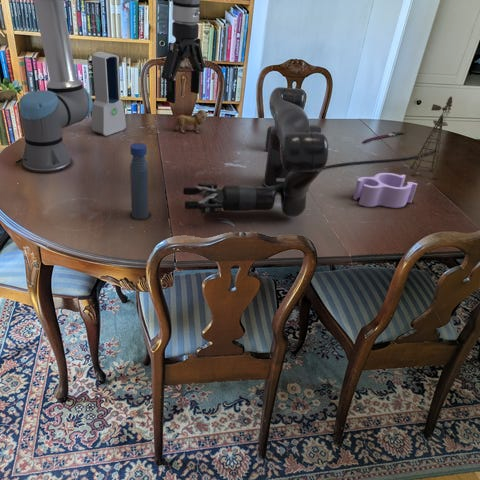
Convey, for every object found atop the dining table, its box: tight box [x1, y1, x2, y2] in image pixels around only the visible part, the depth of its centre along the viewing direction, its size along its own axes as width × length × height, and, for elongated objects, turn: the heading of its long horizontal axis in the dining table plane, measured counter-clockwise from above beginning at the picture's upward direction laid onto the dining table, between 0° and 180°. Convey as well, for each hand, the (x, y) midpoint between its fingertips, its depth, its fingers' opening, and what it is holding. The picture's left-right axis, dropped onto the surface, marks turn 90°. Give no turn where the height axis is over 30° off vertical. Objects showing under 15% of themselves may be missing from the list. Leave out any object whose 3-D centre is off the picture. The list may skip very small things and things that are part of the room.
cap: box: [129, 142, 147, 157], centre depth 126 cm, size 4×4×2 cm
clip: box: [352, 172, 418, 209], centre depth 158 cm, size 20×12×7 cm, turn 109°
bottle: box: [129, 155, 150, 220], centre depth 131 cm, size 5×5×21 cm
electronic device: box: [90, 51, 127, 137], centre depth 182 cm, size 12×8×30 cm, turn 148°
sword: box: [363, 131, 407, 144], centre depth 214 cm, size 31×3×1 cm, turn 126°
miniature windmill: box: [410, 96, 453, 179], centre depth 175 cm, size 9×8×30 cm
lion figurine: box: [171, 109, 207, 134], centre depth 196 cm, size 15×5×9 cm, turn 110°
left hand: (183, 97), depth 144 cm, fingers open, 13 cm apart
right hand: (184, 197), depth 135 cm, fingers open, 8 cm apart
